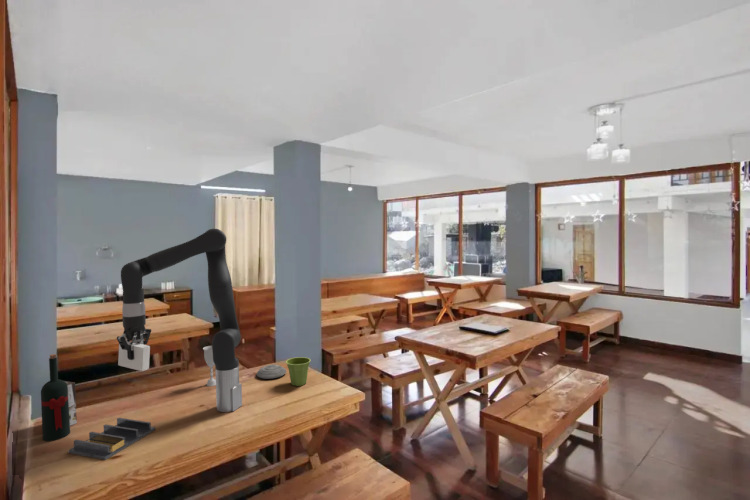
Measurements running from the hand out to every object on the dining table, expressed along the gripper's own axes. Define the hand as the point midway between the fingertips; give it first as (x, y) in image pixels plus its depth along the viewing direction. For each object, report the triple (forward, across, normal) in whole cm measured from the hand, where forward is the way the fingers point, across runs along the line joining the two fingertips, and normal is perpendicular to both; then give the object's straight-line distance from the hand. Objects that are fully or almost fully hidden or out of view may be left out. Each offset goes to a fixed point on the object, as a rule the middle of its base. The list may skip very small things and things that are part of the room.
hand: (135, 357), depth 151 cm
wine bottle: (+26, -16, +19) cm, 36 cm away
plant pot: (+25, +52, -42) cm, 72 cm away
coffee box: (+26, -10, +27) cm, 39 cm away
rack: (+25, -13, -4) cm, 29 cm away
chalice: (+26, +40, -2) cm, 47 cm away
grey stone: (+26, +58, -23) cm, 68 cm away
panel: (+4, 0, +1) cm, 4 cm away
